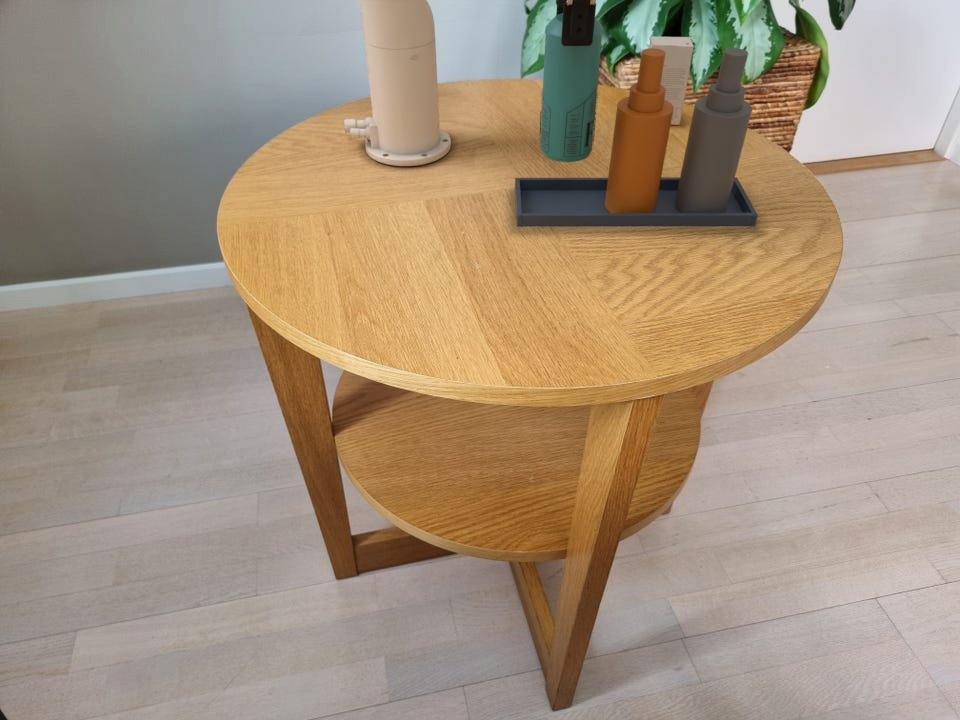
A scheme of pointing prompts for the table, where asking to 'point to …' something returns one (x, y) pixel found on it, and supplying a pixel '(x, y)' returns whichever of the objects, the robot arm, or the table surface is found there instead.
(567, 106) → the beverage bottle
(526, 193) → the tray
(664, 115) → the amber bottle
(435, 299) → the table surface
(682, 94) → the cosmetic box
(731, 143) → the grey bottle
